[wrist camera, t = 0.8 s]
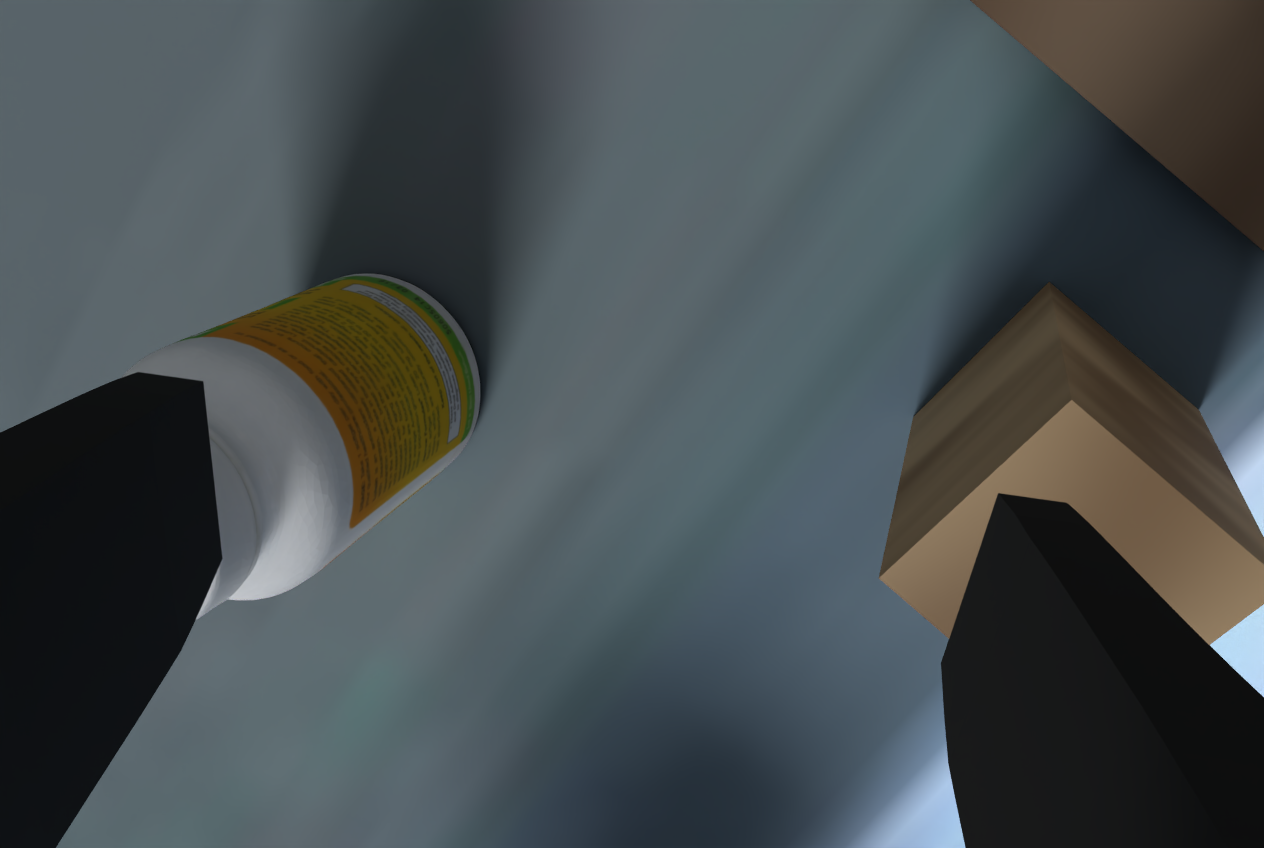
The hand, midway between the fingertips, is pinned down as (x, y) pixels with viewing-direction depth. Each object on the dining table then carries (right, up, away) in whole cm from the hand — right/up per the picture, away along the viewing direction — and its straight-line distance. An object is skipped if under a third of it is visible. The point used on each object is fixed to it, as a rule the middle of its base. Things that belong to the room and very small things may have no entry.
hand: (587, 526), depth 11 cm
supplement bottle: (-6, +2, +18) cm, 19 cm away
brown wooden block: (+9, +1, +14) cm, 17 cm away
